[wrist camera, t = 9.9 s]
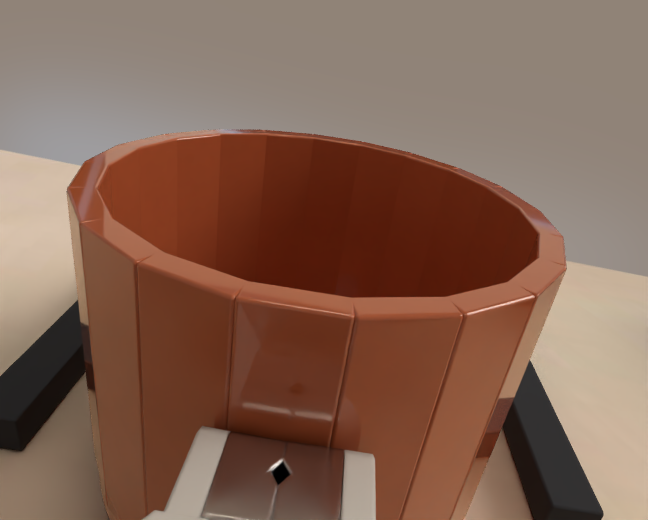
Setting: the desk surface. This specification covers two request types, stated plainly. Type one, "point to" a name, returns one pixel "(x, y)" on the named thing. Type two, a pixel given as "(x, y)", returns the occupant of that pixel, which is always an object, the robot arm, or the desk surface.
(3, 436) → the bay
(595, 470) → the desk surface
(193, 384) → the cup
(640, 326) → the desk surface
